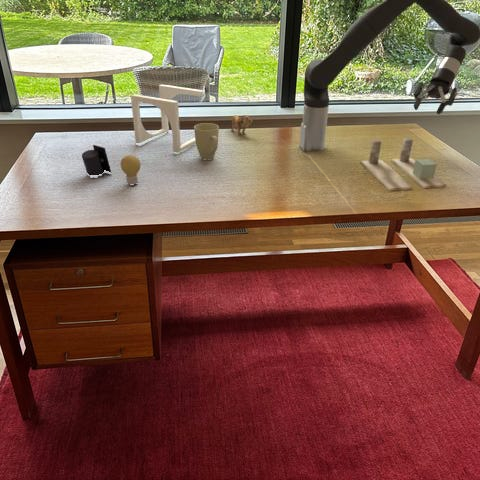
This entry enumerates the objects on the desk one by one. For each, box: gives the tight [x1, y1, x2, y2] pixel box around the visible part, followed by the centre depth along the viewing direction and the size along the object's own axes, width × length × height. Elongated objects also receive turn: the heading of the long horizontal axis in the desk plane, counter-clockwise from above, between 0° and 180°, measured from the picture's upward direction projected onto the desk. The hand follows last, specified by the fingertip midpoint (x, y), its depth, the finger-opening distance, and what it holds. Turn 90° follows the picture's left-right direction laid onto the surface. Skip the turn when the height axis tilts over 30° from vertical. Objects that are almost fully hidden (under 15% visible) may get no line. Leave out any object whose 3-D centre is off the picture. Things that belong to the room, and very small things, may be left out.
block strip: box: [391, 137, 447, 189], centre depth 169 cm, size 8×24×9 cm, turn 10°
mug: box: [193, 122, 220, 161], centre depth 180 cm, size 11×10×12 cm
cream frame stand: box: [130, 84, 205, 153], centre depth 193 cm, size 20×20×20 cm
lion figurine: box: [229, 114, 253, 137], centre depth 207 cm, size 15×5×9 cm, turn 34°
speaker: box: [81, 144, 112, 175], centre depth 167 cm, size 8×6×10 cm
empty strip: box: [360, 139, 413, 192], centre depth 167 cm, size 8×24×9 cm, turn 10°
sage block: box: [413, 158, 438, 179], centre depth 166 cm, size 5×5×5 cm
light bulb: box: [120, 154, 142, 185], centre depth 160 cm, size 6×6×10 cm
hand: (426, 111), depth 179 cm, fingers open, 8 cm apart
